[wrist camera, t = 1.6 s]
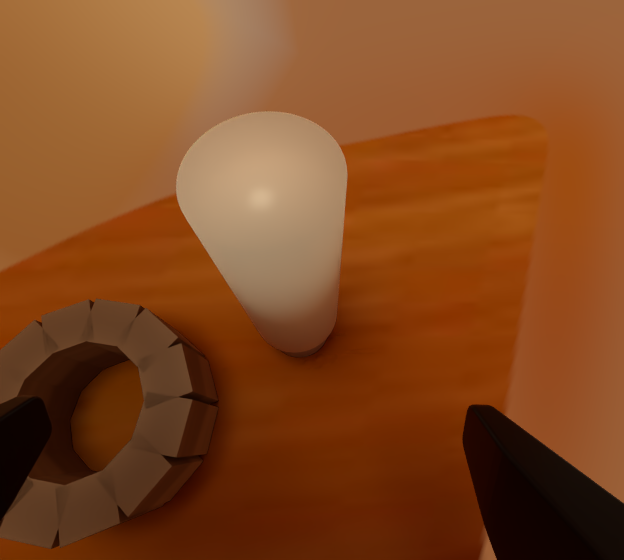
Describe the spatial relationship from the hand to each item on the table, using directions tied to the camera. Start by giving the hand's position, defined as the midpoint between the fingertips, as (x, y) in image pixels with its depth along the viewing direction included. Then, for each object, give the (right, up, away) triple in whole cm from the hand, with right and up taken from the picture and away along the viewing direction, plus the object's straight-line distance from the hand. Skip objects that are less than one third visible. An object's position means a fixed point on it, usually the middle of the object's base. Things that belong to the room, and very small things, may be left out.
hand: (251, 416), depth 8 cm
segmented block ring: (-8, -4, +11) cm, 15 cm away
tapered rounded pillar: (+1, 0, +13) cm, 13 cm away
